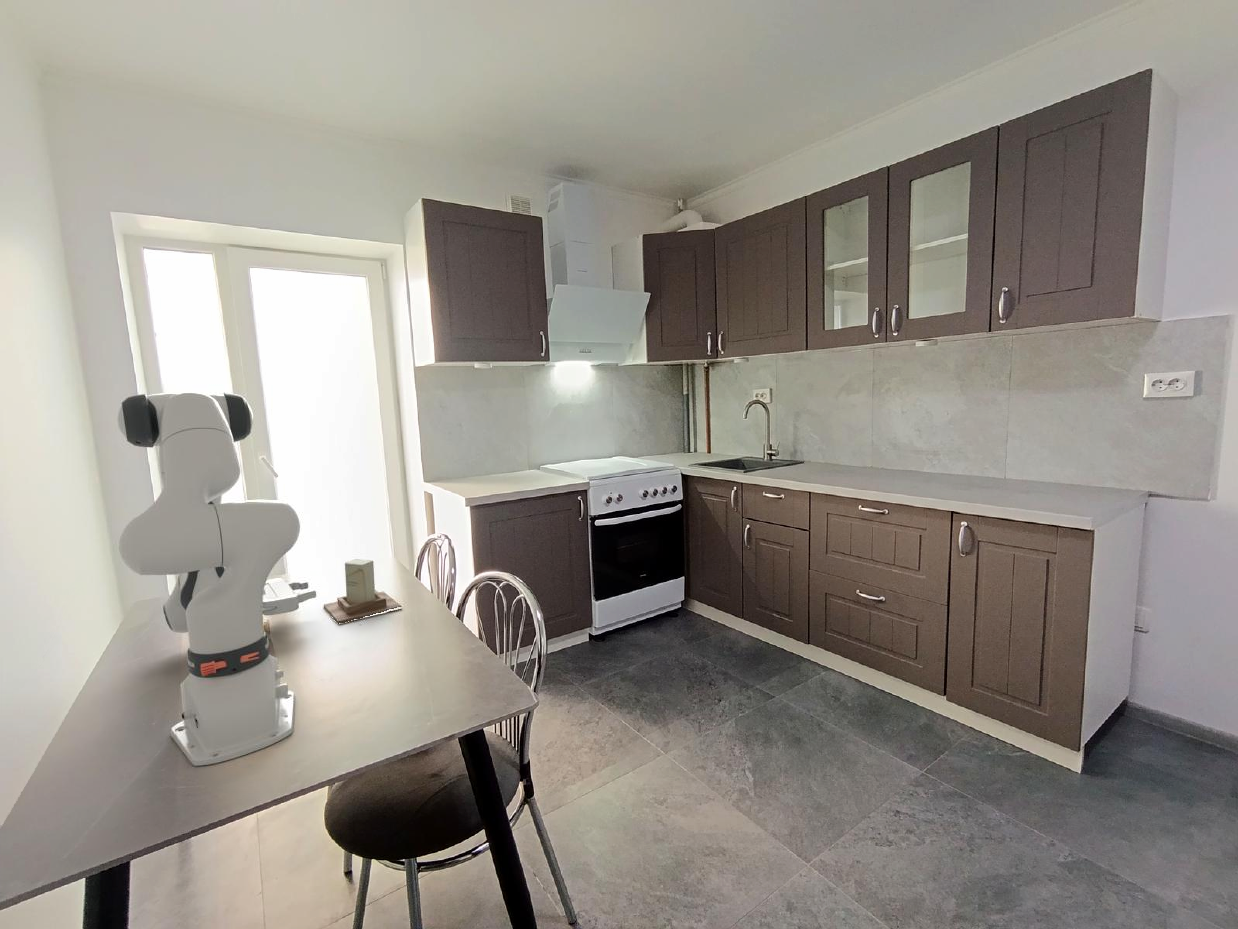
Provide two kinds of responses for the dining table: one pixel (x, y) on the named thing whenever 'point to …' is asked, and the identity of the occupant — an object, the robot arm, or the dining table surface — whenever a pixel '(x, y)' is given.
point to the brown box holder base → (360, 607)
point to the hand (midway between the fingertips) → (311, 588)
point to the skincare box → (359, 581)
